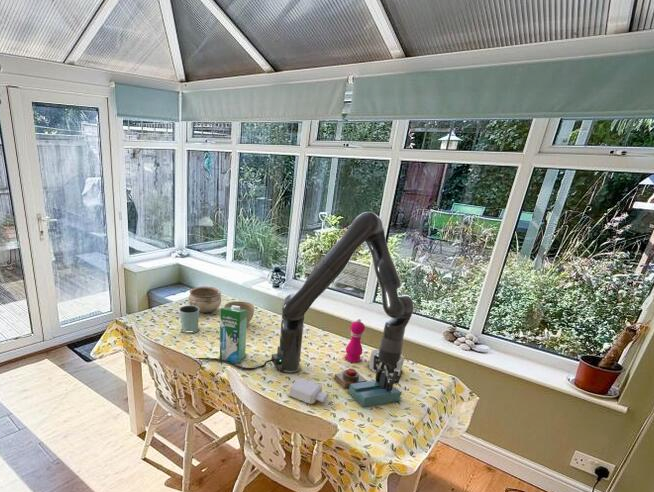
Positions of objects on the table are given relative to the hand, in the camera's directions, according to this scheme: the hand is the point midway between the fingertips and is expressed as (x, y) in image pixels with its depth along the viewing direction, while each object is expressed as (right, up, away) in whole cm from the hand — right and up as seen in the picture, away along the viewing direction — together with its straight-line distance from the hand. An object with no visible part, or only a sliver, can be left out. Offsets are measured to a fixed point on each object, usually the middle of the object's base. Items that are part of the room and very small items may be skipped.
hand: (383, 386), depth 159 cm
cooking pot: (-72, +30, +81) cm, 112 cm away
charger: (-28, -5, -1) cm, 28 cm away
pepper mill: (-3, +7, +29) cm, 30 cm away
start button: (-10, +3, +9) cm, 14 cm away
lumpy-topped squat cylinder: (+8, +3, +20) cm, 22 cm away
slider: (0, -1, +1) cm, 1 cm away
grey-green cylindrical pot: (-79, +20, +56) cm, 99 cm away
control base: (-3, -4, +1) cm, 6 cm away
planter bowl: (-53, +22, +63) cm, 85 cm away
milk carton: (-58, +8, +29) cm, 65 cm away
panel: (-10, 0, +11) cm, 14 cm away
